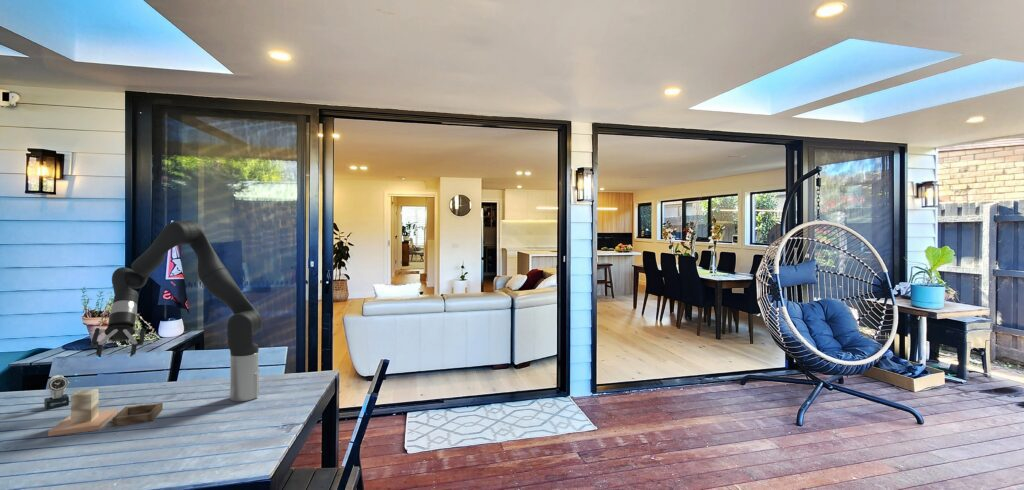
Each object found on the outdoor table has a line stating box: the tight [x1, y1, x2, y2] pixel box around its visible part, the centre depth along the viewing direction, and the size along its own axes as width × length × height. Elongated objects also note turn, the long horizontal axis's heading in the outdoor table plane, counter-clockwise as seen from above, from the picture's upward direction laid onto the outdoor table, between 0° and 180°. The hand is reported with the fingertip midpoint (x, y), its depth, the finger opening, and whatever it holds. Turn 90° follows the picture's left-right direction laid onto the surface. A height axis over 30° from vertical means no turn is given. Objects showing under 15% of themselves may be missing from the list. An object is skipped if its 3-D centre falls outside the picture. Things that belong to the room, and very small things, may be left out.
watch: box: [43, 374, 70, 411], centre depth 156 cm, size 6×8×11 cm
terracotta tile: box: [47, 408, 118, 437], centre depth 142 cm, size 12×14×2 cm
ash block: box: [70, 388, 100, 424], centre depth 142 cm, size 5×5×9 cm
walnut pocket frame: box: [111, 402, 163, 427], centre depth 148 cm, size 10×10×2 cm
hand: (115, 355), depth 155 cm, fingers open, 8 cm apart
